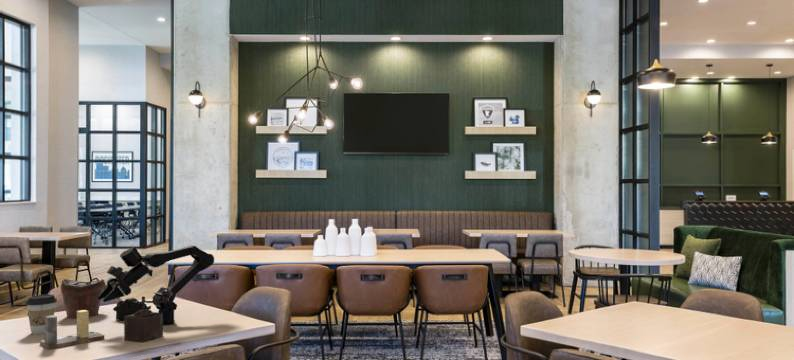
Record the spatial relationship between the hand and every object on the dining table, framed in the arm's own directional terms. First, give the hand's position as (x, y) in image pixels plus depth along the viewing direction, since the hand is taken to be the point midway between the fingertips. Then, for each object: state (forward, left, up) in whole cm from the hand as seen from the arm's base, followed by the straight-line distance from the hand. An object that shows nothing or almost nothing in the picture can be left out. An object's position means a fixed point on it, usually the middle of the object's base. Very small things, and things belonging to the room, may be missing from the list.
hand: (100, 299), depth 228 cm
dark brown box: (-20, +9, -15) cm, 26 cm away
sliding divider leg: (+6, +6, -13) cm, 15 cm away
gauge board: (+8, +8, -14) cm, 18 cm away
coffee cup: (+25, -14, -15) cm, 33 cm away
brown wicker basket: (+16, -45, -15) cm, 50 cm away
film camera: (-8, -28, -15) cm, 33 cm away
